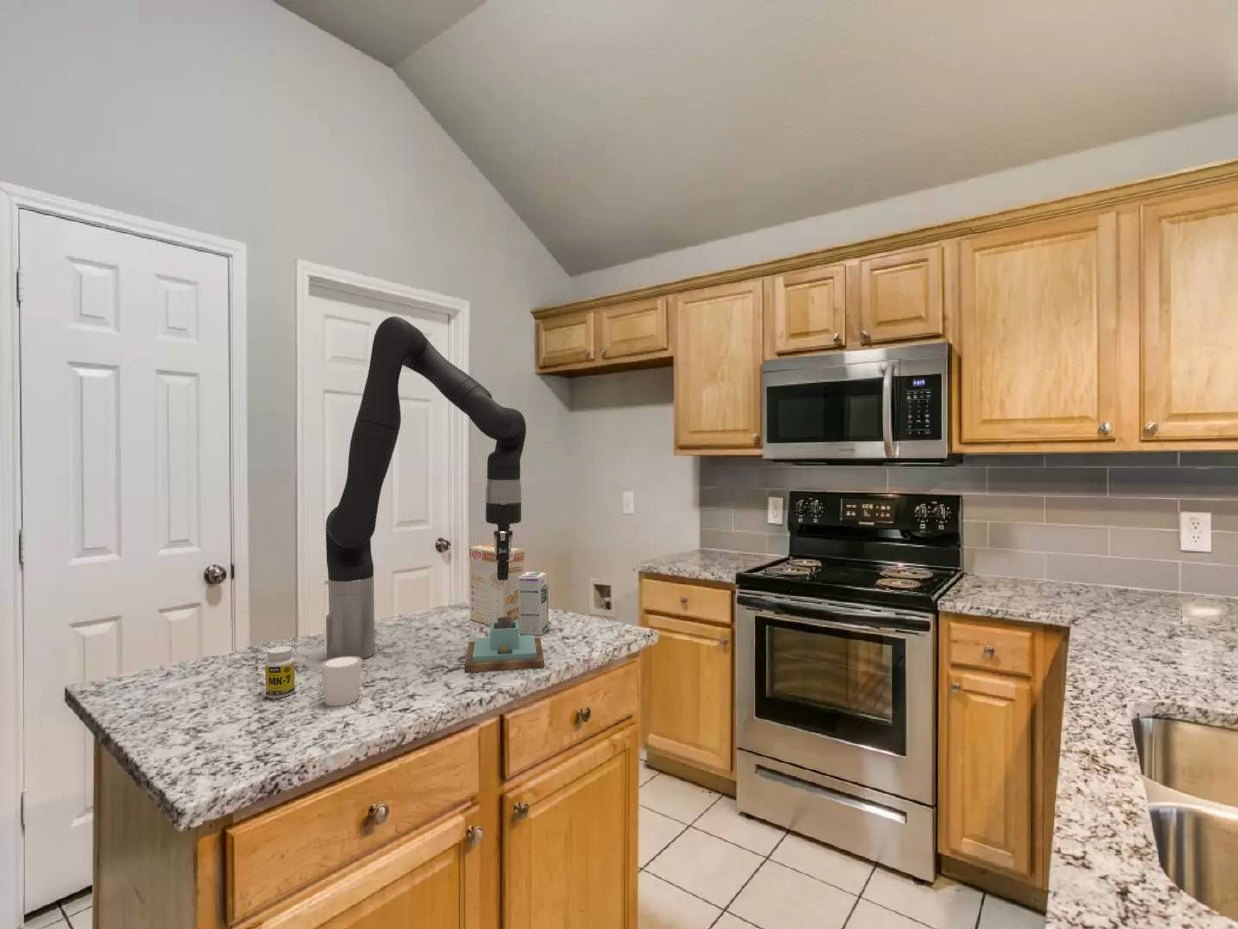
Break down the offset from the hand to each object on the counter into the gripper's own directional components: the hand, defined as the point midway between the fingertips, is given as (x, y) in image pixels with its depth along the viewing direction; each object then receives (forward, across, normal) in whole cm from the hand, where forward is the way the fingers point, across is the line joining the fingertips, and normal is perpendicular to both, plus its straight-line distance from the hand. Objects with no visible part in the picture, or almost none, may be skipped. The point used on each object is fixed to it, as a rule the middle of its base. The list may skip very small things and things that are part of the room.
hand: (503, 575), depth 138 cm
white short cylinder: (+19, +18, -28) cm, 38 cm away
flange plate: (+16, -1, 0) cm, 16 cm away
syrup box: (+18, -19, +7) cm, 27 cm away
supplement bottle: (+19, +13, -40) cm, 46 cm away
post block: (+18, -1, 0) cm, 18 cm away
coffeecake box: (+18, -30, -2) cm, 35 cm away
